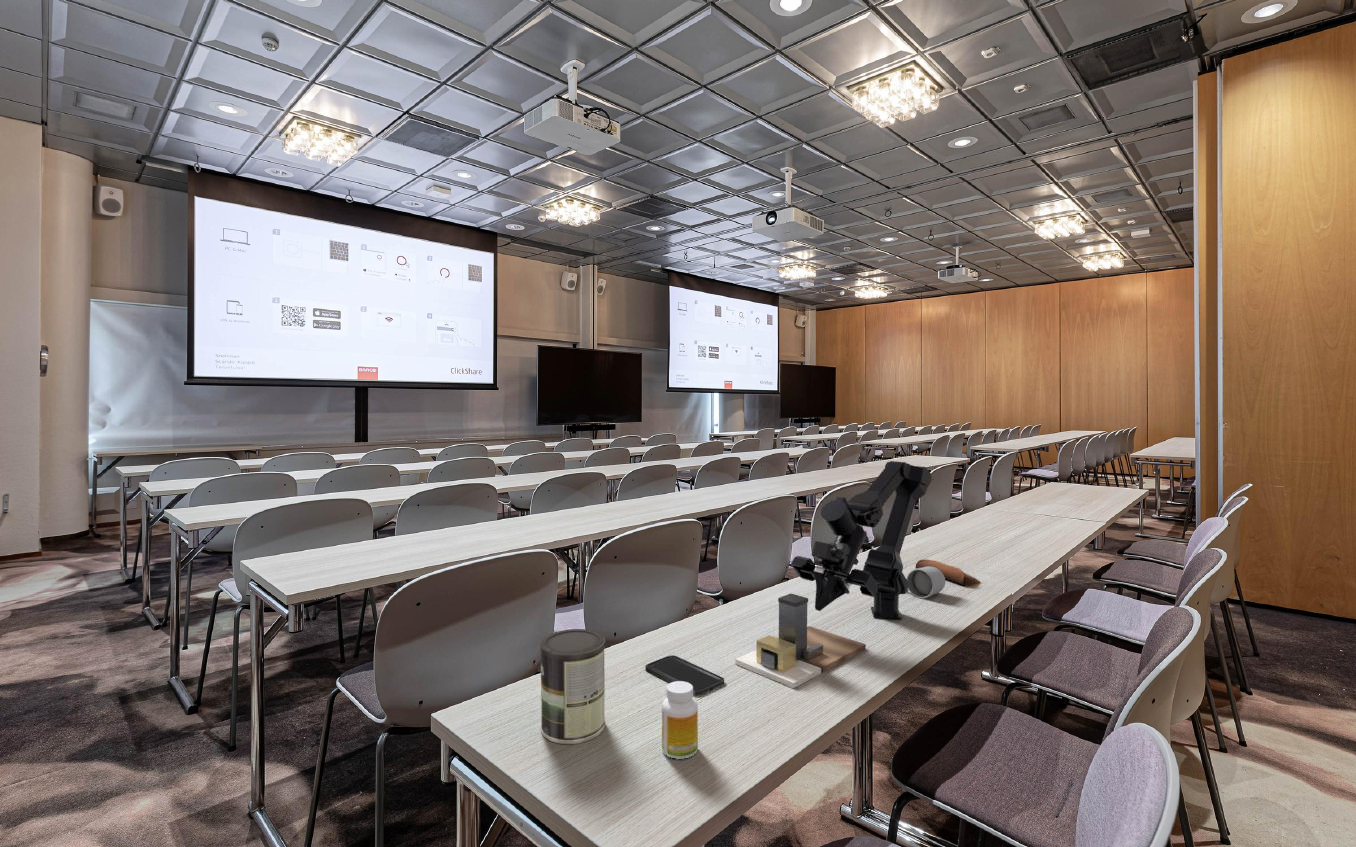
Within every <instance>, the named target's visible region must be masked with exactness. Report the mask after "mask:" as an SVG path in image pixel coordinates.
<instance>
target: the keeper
mask: <svg viewBox="0 0 1356 847" xmlns="http://www.w3.org/2000/svg"><path fill="white" fill-rule="evenodd" d="M755 647H756V649H755V650H756V662H757V663H760V664H762V651H764V650H769V651H772V652H775V653H777V654H778V671H780V672H782V673H784V672H786V671H788V670H790V669H792V668H793V667H795V666H796V644H793V643H790V642H787V641H784V640H782V639H779V637H775V636H774V635H770V634H769V635H766V636H764V637H761V638H759V639H757V640H756V646H755Z"/></svg>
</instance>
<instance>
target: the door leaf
mask: <svg viewBox="0 0 1356 847" xmlns="http://www.w3.org/2000/svg"><path fill="white" fill-rule="evenodd" d="M816 644H821V645H823V654H822V655H820V656H818V657H816V658H814V659H812V660H810V661H807V660H804V657H802V658H800V659H798V660H800V661H803V662H806V663H808V664H811V665H814V666H816V667H819V668H821V673H824V672H826V671H829V670H830V669H832V668H833V667H835V666H837V665H839V664H841V663H842V662H845V661H846V660H848V659H850V658H852V657H854V656H855V655H858V654H859V653H861V652H862V651H864V650H866V647H867V646H866V644H867V643H863V642H861V641H857V640H855V639H852V638H851V639H850V638H848V637H845V636H841V635H839V634H835V633H832V632H829V631H826V630H823V629H819V628H817V627H813V626H810V625H809V626H807V649H808V648H810V647H812V646H814V645H816Z"/></svg>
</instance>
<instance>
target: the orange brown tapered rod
mask: <svg viewBox="0 0 1356 847" xmlns="http://www.w3.org/2000/svg"><path fill="white" fill-rule="evenodd" d="M928 566H930V567H935V568H937V569H939V570H940V571H941V572H942V573H943V575H944V577H945V580H946V579H947V580H949V581H951V582H954V583H958V584H960V585H963V587H970V586H974V585H979V584H982V582H981V581H980V580H979V579H978V578H976V577H974V576H972V575H969V574H968V573H966V572H964V571H963V570H962V569H961V568H959V567H957V566H952V565H949V564H946V563H943V562H940V561H937V560H933V559H919V560H918V561H917V562H916V563H915V569H917V568H923V567H928Z"/></svg>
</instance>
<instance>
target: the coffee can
mask: <svg viewBox="0 0 1356 847" xmlns="http://www.w3.org/2000/svg"><path fill="white" fill-rule="evenodd" d="M605 647H606V637H605V636H604V635H603V634H601V633H600V632H598V631H595V630H591V629H585V628H574V629H573V628H572V629H564V630H559V631H556V632H553V633H550V634H548V635H546V636H544V637H543V638H542V639H541V641H540V643H539V650H540V694H541V695H540V696H541V697H540V698H541V699H540V701H541V703H540V704H541V706H540V709H541V713H540V714H541V716H540V717H541V718H540V719H541V722H540V723H541V727H540V732H541V735H542V736H543V738H544V739H547V741H549V742H552V743H555V744H560V745H577V744H582V743H586V742H589V741H591V740H593V739H594V738H596V737H599V736H600V734H601V733H602V732H603V731H604V729H605V727H606V720H605V719H606V716H605V715H606V713H605V710H606V708H605V695H606V694H605V689H606V688H605V687H606V685H605V679H606V678H605V665H606V664H605Z"/></svg>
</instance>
